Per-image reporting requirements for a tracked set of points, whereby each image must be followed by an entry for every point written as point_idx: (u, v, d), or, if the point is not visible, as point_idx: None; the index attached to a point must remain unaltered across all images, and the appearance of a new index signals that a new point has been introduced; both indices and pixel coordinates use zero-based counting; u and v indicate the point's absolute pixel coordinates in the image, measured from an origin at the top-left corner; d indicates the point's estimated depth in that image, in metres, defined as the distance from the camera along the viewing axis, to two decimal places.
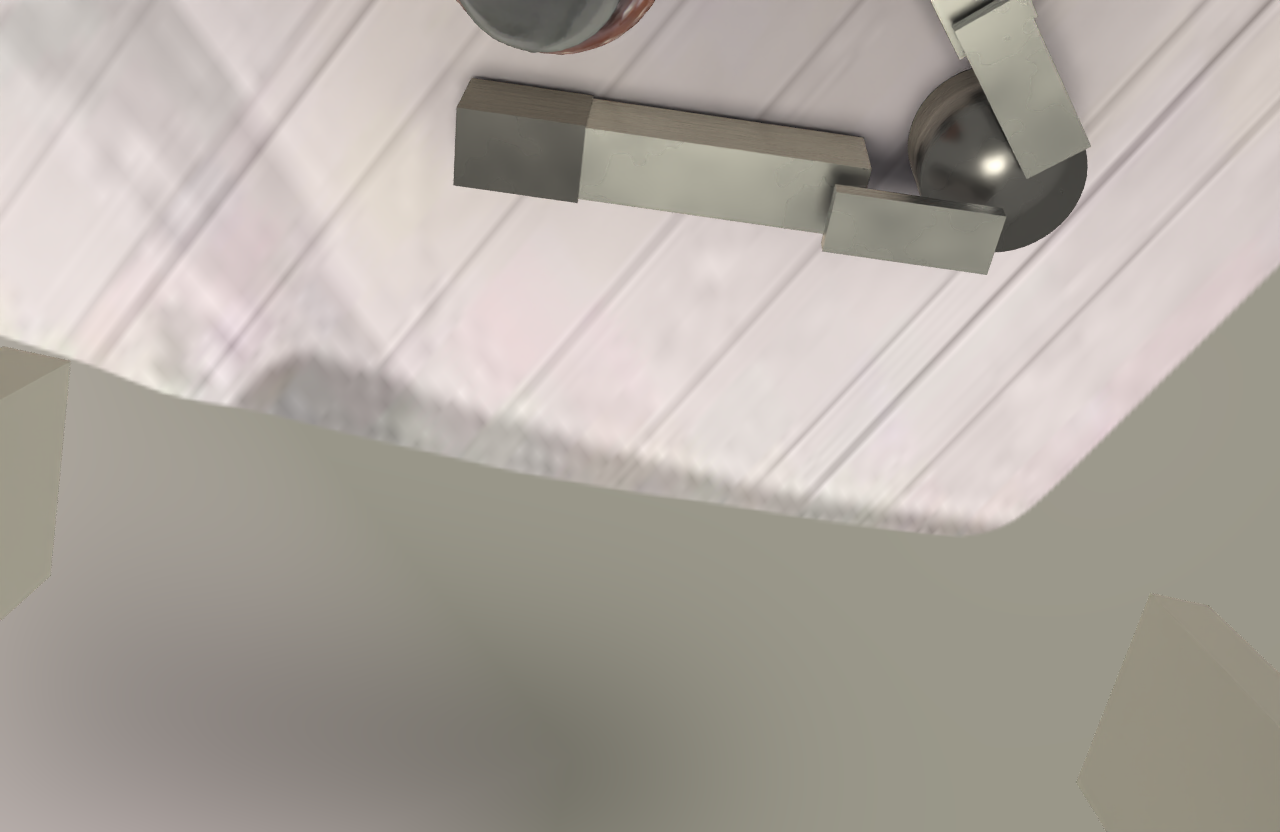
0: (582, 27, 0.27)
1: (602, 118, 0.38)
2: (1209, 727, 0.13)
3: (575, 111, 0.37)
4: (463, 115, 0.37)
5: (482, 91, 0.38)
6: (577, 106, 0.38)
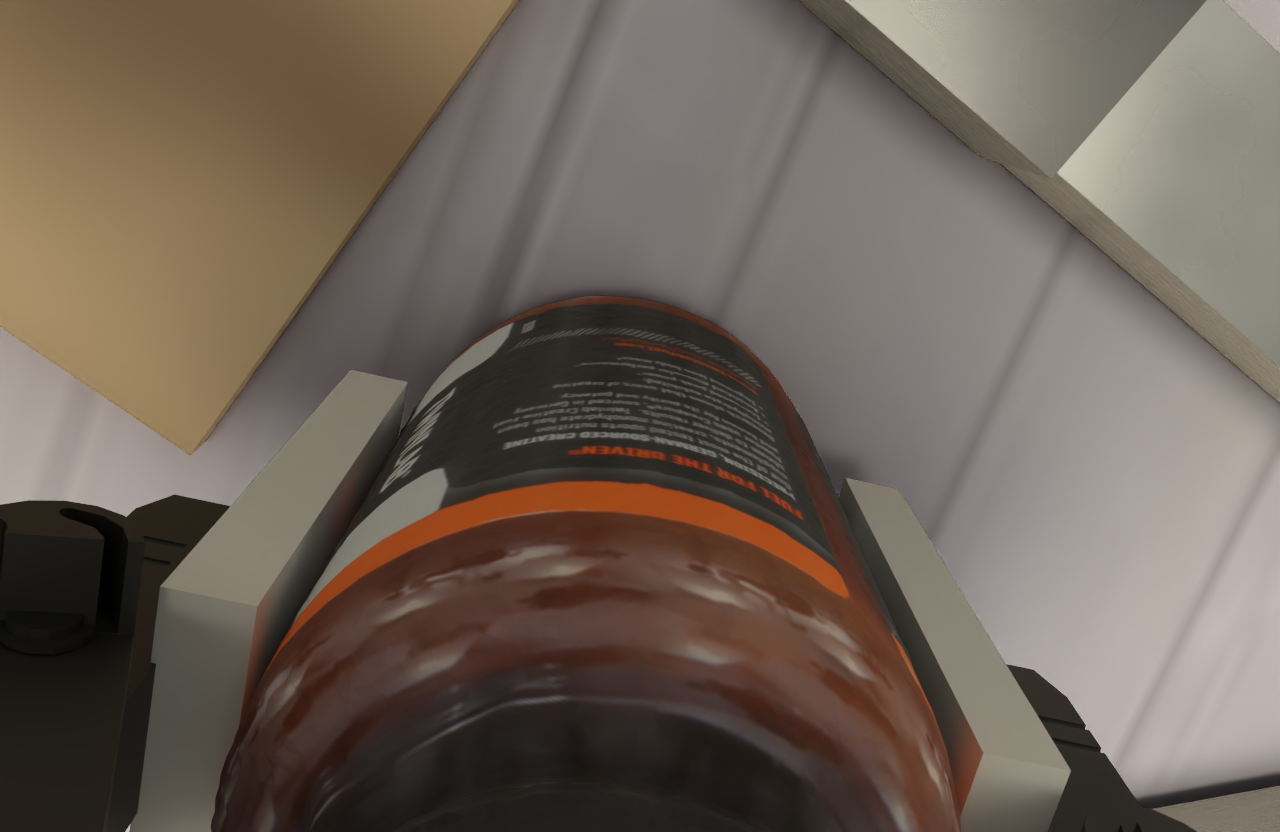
0: None
1: None
2: None
3: None
4: None
5: None
6: None
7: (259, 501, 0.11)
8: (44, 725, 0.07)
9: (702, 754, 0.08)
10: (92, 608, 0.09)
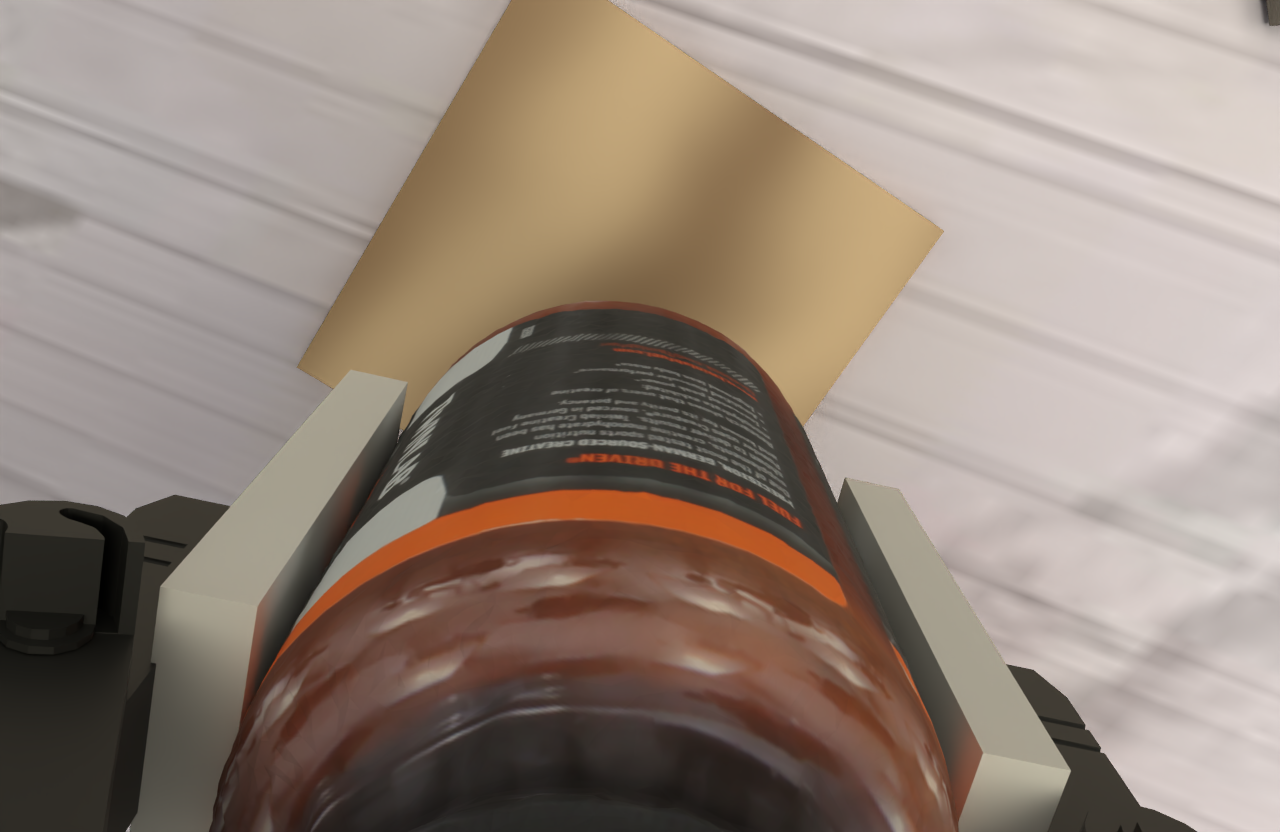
0: None
1: None
2: None
3: None
4: None
5: None
6: None
7: (259, 501, 0.11)
8: (44, 725, 0.07)
9: (699, 763, 0.08)
10: (92, 608, 0.09)
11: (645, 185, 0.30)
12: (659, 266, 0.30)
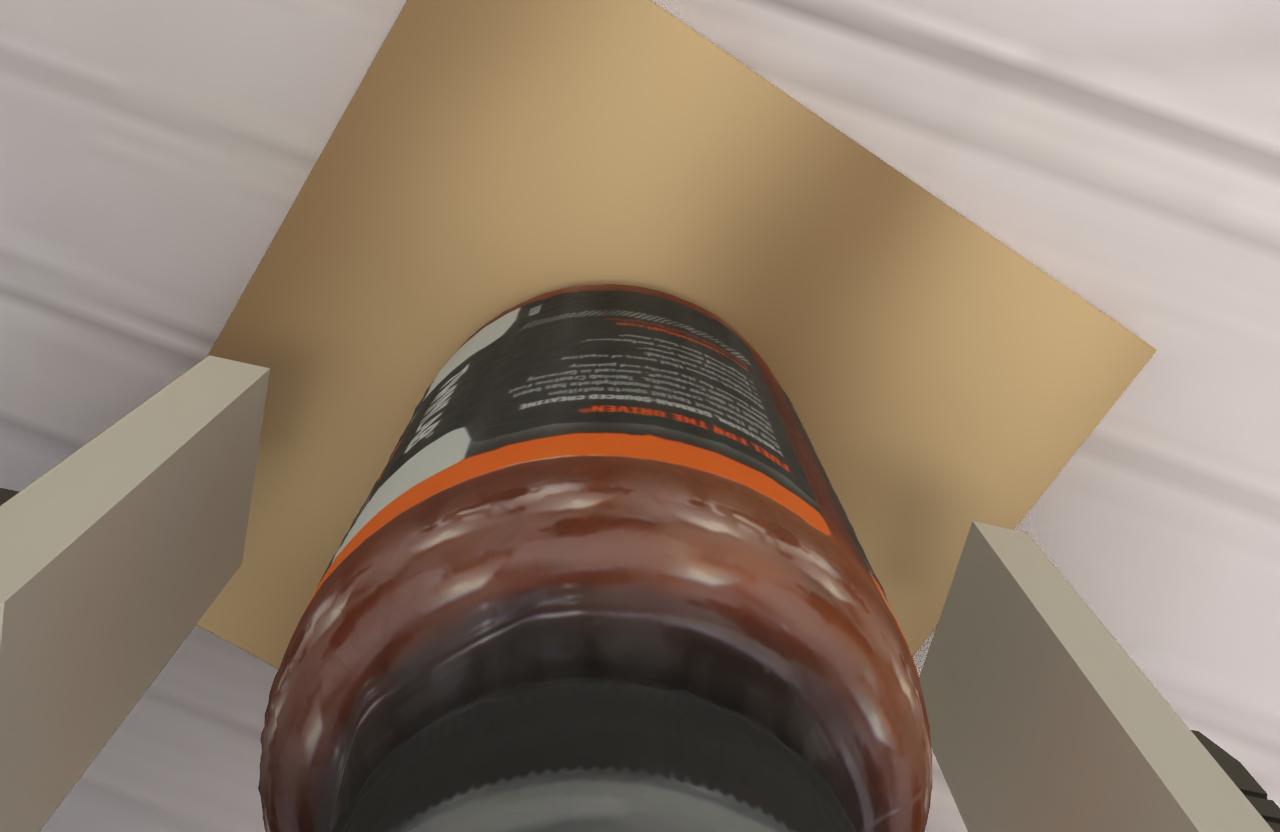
0: None
1: None
2: (1003, 635, 0.14)
3: None
4: None
5: None
6: None
7: (51, 490, 0.10)
8: None
9: (702, 659, 0.09)
10: None
11: (659, 276, 0.18)
12: None
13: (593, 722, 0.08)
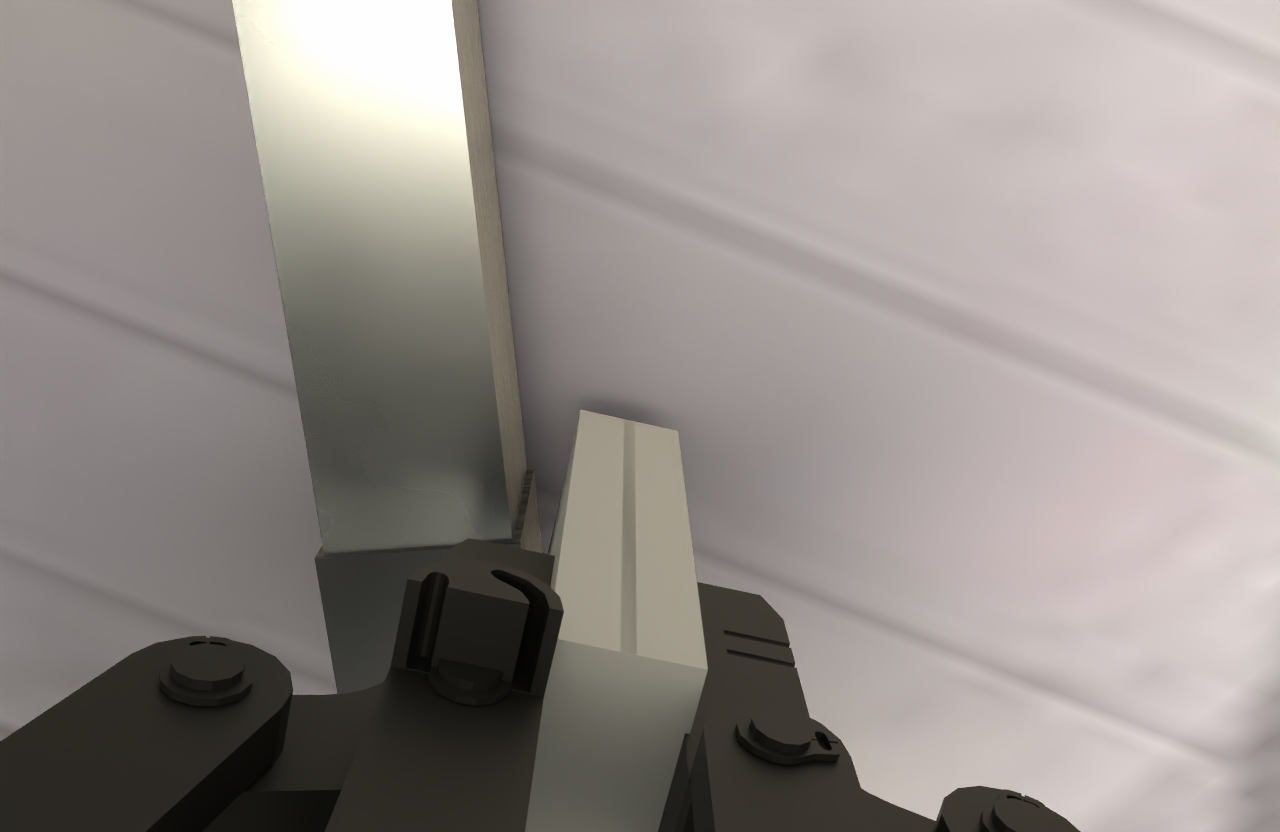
0: None
1: None
2: None
3: None
4: None
5: None
6: None
7: (580, 548, 0.12)
8: (467, 774, 0.08)
9: None
10: (510, 667, 0.09)
11: None
12: None
13: None
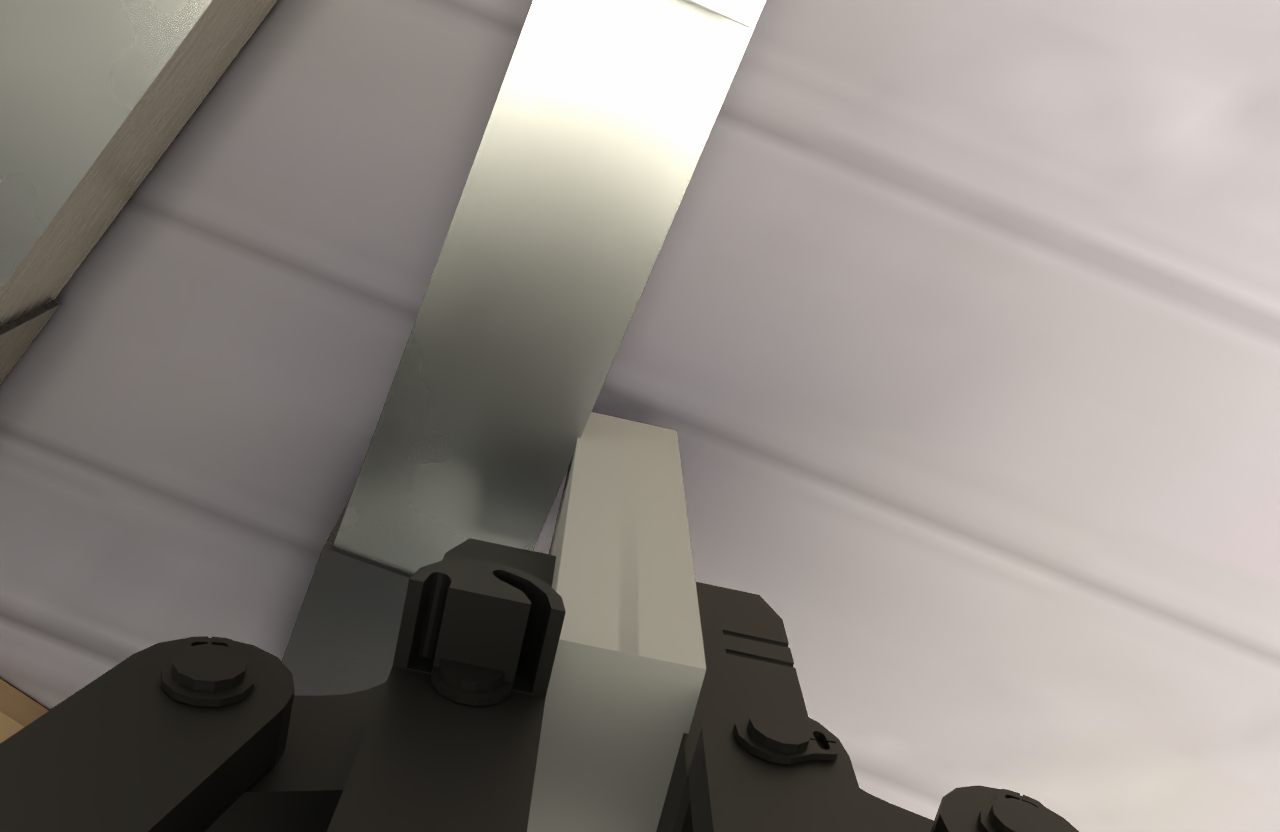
0: None
1: None
2: None
3: None
4: None
5: None
6: None
7: (581, 549, 0.12)
8: (469, 774, 0.08)
9: None
10: (512, 667, 0.09)
11: None
12: None
13: None
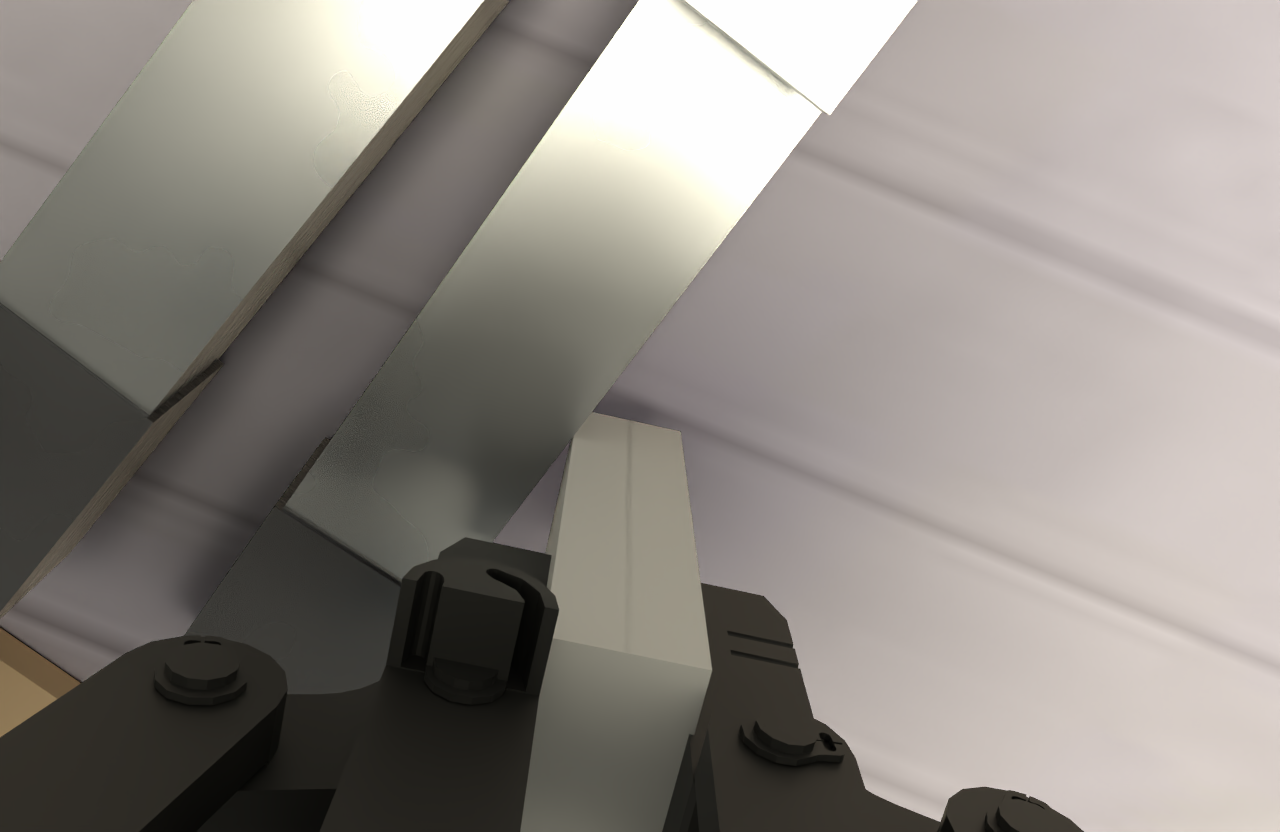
0: None
1: None
2: None
3: None
4: None
5: None
6: None
7: (576, 548, 0.12)
8: (463, 772, 0.08)
9: None
10: (506, 665, 0.09)
11: None
12: None
13: None
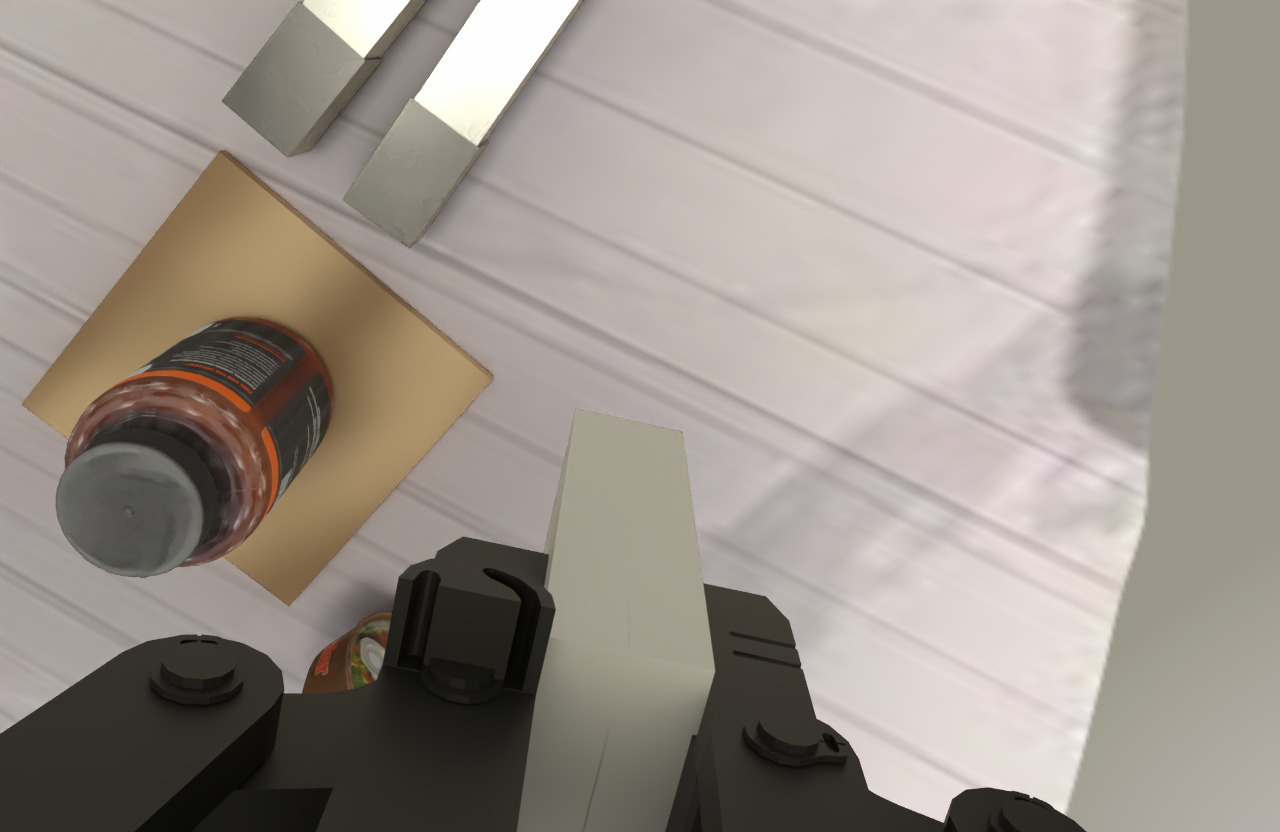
0: (177, 552, 0.32)
1: None
2: None
3: None
4: (352, 198, 0.38)
5: None
6: None
7: (574, 547, 0.12)
8: (459, 772, 0.08)
9: (183, 432, 0.33)
10: (503, 665, 0.09)
11: (283, 317, 0.42)
12: None
13: (140, 436, 0.32)
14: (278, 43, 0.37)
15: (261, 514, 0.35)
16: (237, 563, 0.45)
